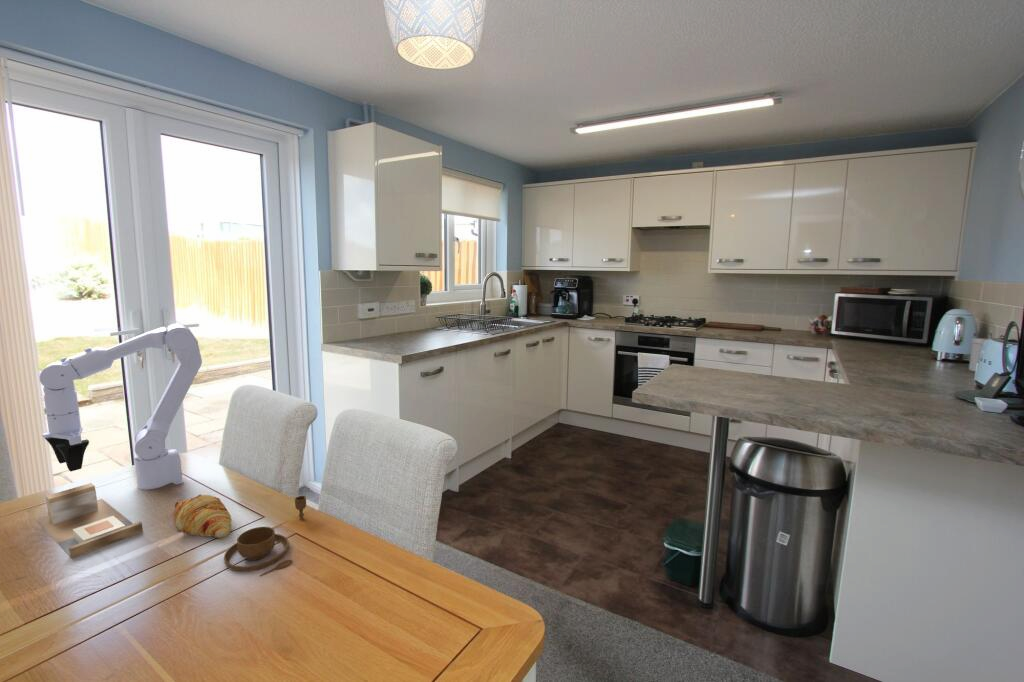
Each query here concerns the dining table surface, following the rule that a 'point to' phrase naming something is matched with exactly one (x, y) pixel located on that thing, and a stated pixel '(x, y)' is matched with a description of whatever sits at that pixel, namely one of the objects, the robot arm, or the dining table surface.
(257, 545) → the place setting
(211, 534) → the croissant
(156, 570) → the dining table surface
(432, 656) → the dining table surface
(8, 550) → the dining table surface
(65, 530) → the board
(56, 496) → the light wood block
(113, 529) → the tile
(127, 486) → the dining table surface
